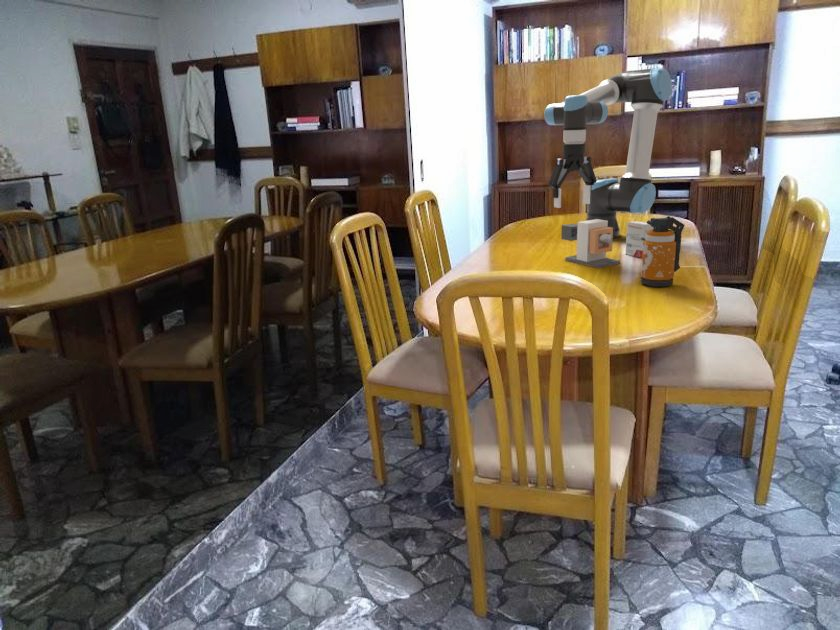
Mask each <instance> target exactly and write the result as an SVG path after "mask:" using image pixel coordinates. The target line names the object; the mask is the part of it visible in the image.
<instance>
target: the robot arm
mask: <svg viewBox="0 0 840 630" xmlns="http://www.w3.org/2000/svg"><path fill="white" fill-rule="evenodd" d="M672 92H673V83H672V78H671V75H670V73H669V71H668V70H666V69H665V68H662V67H658V68H654V67H652V68H645V69H637V70H627V71H623V72H620V73H618V74H616V75H612V76H611V77H609V78H607V79H604V80H602V81H601V82H600V83H599V84H598V86H595V87H593V88H590V89H589V90H587V91H584V92H582V93H580V94H578V95H567V96H566V97H565V98H564V101H561V102H559V103H555V102H554V103H551V104H548V105H547V106H546V108H545V110H544V113H543V114H544V115H543V116H544V121H545V122H546V124H547V125H549V126H563V130H562V131H563V136H562V137H563V138H562V139H563V140H562V141H563V143H564V144H563V145H562V155H563V158H556V161H555V167H554V169H553V172H552V174H551V176H550V179H549V182H548V185H547V187H550V188H551V189H552V197H553V208H557V209H560V208H561V207H562V188H560V187H561V186H562V184H563V182H564V181H565V179H566V178H567V176H568V174H569V173H571V172H575V171H576V172H578V174H579V176H580V177H581V179H582V181H583V182H584V184H583V191H582V192H583V193H582V205H583V204H584V205H587V207H586V208H587V211H586V213H587V214H586V218H585V221H588V220H594V219H600V220H607V221H608V226H607V227H611V228H613V239H614V238H618V237H620V235H621V234H620V233H621V232H620V231H621V229H620V226H619V223H618V220H617V219H618V218H617V212H618V213H626V214H627V213H628V214H629V213H630V214H635V215H636V214H644V213H645V214H646V212H648V211H649V210H650V209H651V208H652V206H653V204H654V202H655V199H656V196H657V195H656V194H657V190H656V186H655V185H654V184H653V183H652V178H651V176H650V175H649V173H650V172H649V171H650V165H651V158H652V151H653V147H654V146H653V145H654V140H655V139H654V138H655V133H656V131H655V130H656V126H657V119H658V114H659V113H658V112H659V110H661V109H662V108H663V107H664V102H666V101H668V100H669V99H670V97H671V95H672ZM616 103H631V104H630V106H631V107H632V109H633V117H632V125H631V130H630V131H631V132H630V139H629V146H628V153H627V160H626V167H625V173H624V174H623V175H621V176H620V181H619V179H618V178H605V179H598V180H597V176H596V174H595V171H594V169H593V165H592V161H591V160H592V158H591V156H584V155H585V154H586V144H585V142H586V139H587V125H599V124H602V123H603V122H605V121H606V119H607V118H608V114H609V108H608V106H610V105H614V104H616Z"/></svg>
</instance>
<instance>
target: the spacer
mask: <svg viewBox="0 0 840 630" xmlns="http://www.w3.org/2000/svg"><path fill="white" fill-rule="evenodd" d="M600 234H610V235H612V236H613V228H611V227H604V228H598V229H592V230H590V249H589V253H591V254H599V253H605V252H606V253H609V252H612V251H613V241H612V242H611V243H610V244H608V243H604V246H602V247H598V242H599V235H600Z"/></svg>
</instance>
